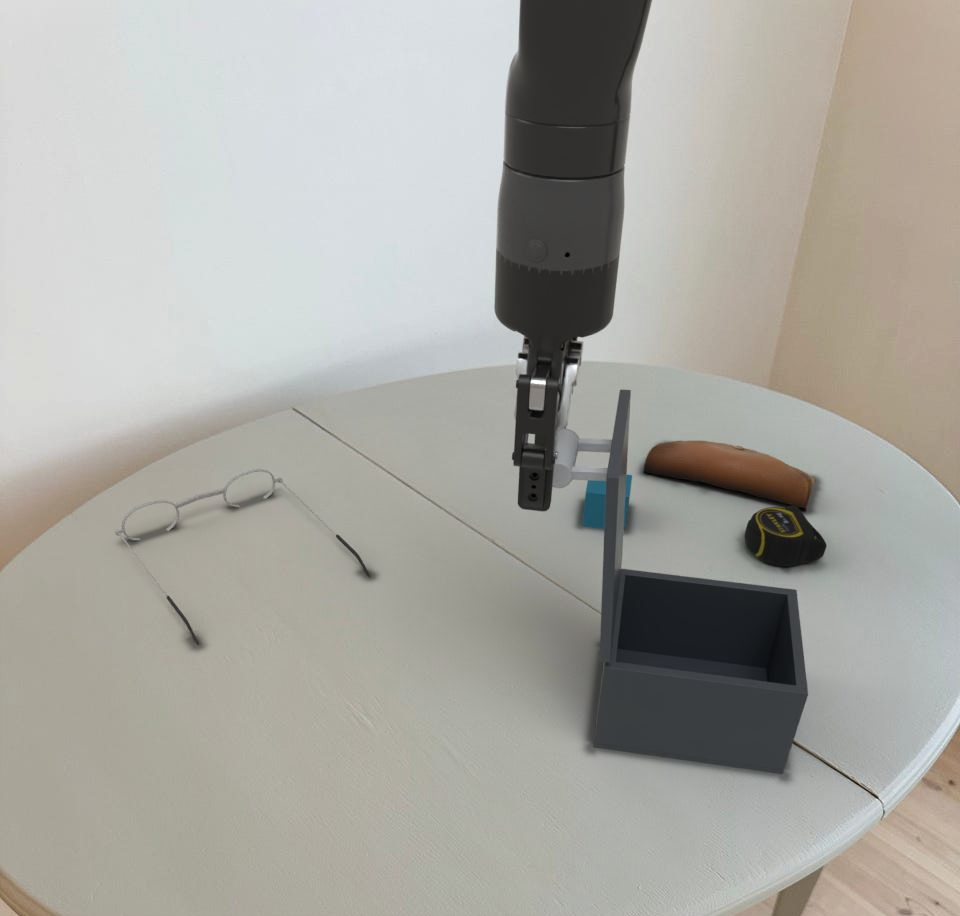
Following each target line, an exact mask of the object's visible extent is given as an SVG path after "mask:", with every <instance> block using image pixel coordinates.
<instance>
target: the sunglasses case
mask: <svg viewBox="0 0 960 916" xmlns="http://www.w3.org/2000/svg"><path fill="white" fill-rule="evenodd" d="M643 473H647V474H652V475H659V476H663V477H668V478H674V479H680V480H681V479H684V480H687V481H691V482H698V483H705V484H707V485H711V486H715V487H719V488H723V489H726V490H729V491H730V490H731V491H737V492H742V493H745V494H747V495H751V496H754V497H758V498H763V499H768V500H772V501H776V502H780V503H783V504H787V505H790V506H796V507H797V508H802V509H803V510H804V511H805V512H807V510H808V509H807V508H808V503H809V499H810V498H811V497H810V496H811V493H812V490H813V486H814V484H815V482H816V479H815V477H812V476H811V475H809V474H808V473H806V472H805V471H803V470H801V469H799V468H797V467H794V466H792V465H789V464H788V463H786V462H784V461H783V460H780V459H778V458H776V457H774V456H773V455H772V456H771V455H770V454H767V453H763V452H761V451H757V450H754V449H751V448H745V447H742V446H741V445H732V444H729V443H724V442H715V441H708V440H675V441H672V440H671V441H667V442H661V443H657V444H656V445H654V446H652V447H651V449H650V450H649V452H648V453H647V456H646V458H645V462H644V465H643Z"/></svg>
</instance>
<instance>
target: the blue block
mask: <svg viewBox="0 0 960 916" xmlns="http://www.w3.org/2000/svg"><path fill="white" fill-rule="evenodd" d="M632 480H633V475H632V474H627V475H626V494H625V513H624V532H625V531H626V526H627V520H628V512H629V504H630V497H631V489H632ZM605 498H606V481H590V480H587V482H586V489H585V494H584V504H583V515H582V524H581V526H582V527H588V528H595V529H603V530H604V524H605Z"/></svg>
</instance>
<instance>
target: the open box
mask: <svg viewBox="0 0 960 916" xmlns="http://www.w3.org/2000/svg"><path fill="white" fill-rule="evenodd" d="M798 600H799V599H798V591H797V589H795V588H794V589H793V588H784V587H775V586H768V585H760V584H753V583H743V582H735V581H727V580H721V579H719V580H718V579H711V578H703V577H702V578H701V577H694V576H685V575H679V574H677V575H676V574H670V573H669V574H668V573H662V572H661V573H660V572H652V571H643V570H636V569H627V568H621V575H620V584H619V592H618V601H617V609H616V618H615V627H614V635H613V644H612V652H611V661H610V663H609V662H603V665H602V673H601V681H600V688H599V697H598V706H597V713H596V721H595V729H594V737H593V746H592V747H593V748H594V749H595V748H596V749H602V750H610V751H617V752H622V753H623V752H624V753H631V754H637V755H645V756H652V757H658V758H665V759H674V760H679V761H686V762H693V763H700V764H701V763H702V764H708V765H715V766H722V767H729V768H735V769H742V770H749V771H757V772H763V773H770V774H777V775H783V773H784V770H785V767H786V764H787V761H788V758H789V755H790V752H791V749H792V746H793V743H794V740H795V736H796V733H797V731H798V727H799V724H800V722H801V718H802V715H803V712H804V709H805V706H806V703H807V699H808V698H809V697H808V696H809V688H808V680H807V672H806V662H805V661H806V660H805V654H804V646H803V637H802V636H803V634H802V626H801V617H800V609H799V601H798Z"/></svg>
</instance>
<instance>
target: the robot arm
mask: <svg viewBox="0 0 960 916" xmlns="http://www.w3.org/2000/svg"><path fill="white" fill-rule="evenodd" d="M652 3H653V0H519V15H518V16H519V18H518V43H517V50H516V52H515V54H514V55H513V56H512V60H511V62H510V64H509V68H508V73H507V78H506V79H507V80H506V85H505V86H506V88H505V99H504V100H505V101H504V124H503V125H504V126H503V127H504V131H503V156H502V157H503V160H502V172H501V178H500V179H501V180H500V184H499V191H498V196H497V197H498V198H497V209H496V216H497V217H496V239H495V240H496V241H495V242H496V244H495V274H494V275H495V276H494V279H495V280H494V308H493V309H494V313H495V316H496V318H497V320H498V321H499V323H500V324H501V325H503V326H504V327H505V328H507V329H509V330H510V331H512V332H517V333H519V334H520V335H522V336H523V341H522V348H521V351H518V353H517V358H516V367H515V375H516V377H517V379H516V381H515V389H517V390H516V397H515V405H514V413H513V416H514V419H515V425H514V426H515V427H514V442H513V451H512V454H511V460H512V461H513V463H512V464H513V467H519V468H518V470H519V471H518V488H517V489H518V490H517V506H518V507H519V508H520V509H521V510H526V511H536V512H547V511H548V510H549V509H550V508H551V504H552V497H553V487H552V485H553V472H554V465H555V459H556V460H557V459H558V452H557V444H558V436H559V432H560V431H561V430H563V429H567V427H568V424H569V417H570V409H571V401H572V395H573V394H574V387H576V386H578V379H579V374H580V373H579V372H580V367H581V366H582V360H583V354H584V353H583V351H584V341H582V340H581V341H580V340H578V338H581V339H582V338H587V337H590V336H592V335H596V334H597V333H599V332H602V331H603V330H604V329H606V328H607V326H609V324H610V323H611V321H612V319H613V316H614V310H615V309H614V308H615V300H616V293H617V292H616V291H617V281H618V274H619V265H620V264H619V263H620V254H621V245H622V238H623V237H622V235H623V228H624V218H625V168H626V167H625V165H626V160H627V159H626V157H627V148H628V140H629V130H630V123H631V122H630V121H631V110H632V98H633V97H632V93H633V78H634V72H635V69H636V65H637V62H638V59H639V55H640V51H641V48H642V44H643V40H644V37H645V32H646V29H647V23H648V20H649V17H650V16H649V15H650V11H651V7H652ZM530 435H534V443H532V442H529V436H530Z"/></svg>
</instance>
